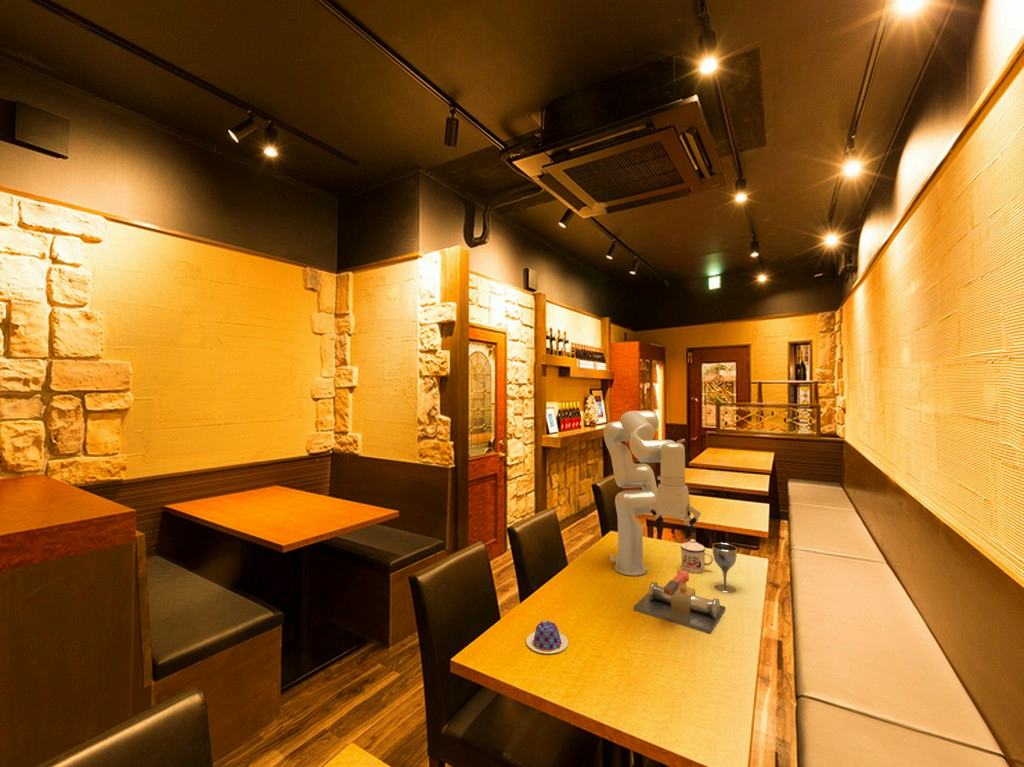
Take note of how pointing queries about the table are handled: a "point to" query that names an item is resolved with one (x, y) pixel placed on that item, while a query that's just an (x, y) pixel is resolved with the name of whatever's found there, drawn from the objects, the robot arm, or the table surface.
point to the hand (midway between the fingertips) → (673, 534)
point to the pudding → (547, 638)
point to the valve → (681, 607)
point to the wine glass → (724, 563)
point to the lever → (676, 582)
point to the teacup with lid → (694, 557)
